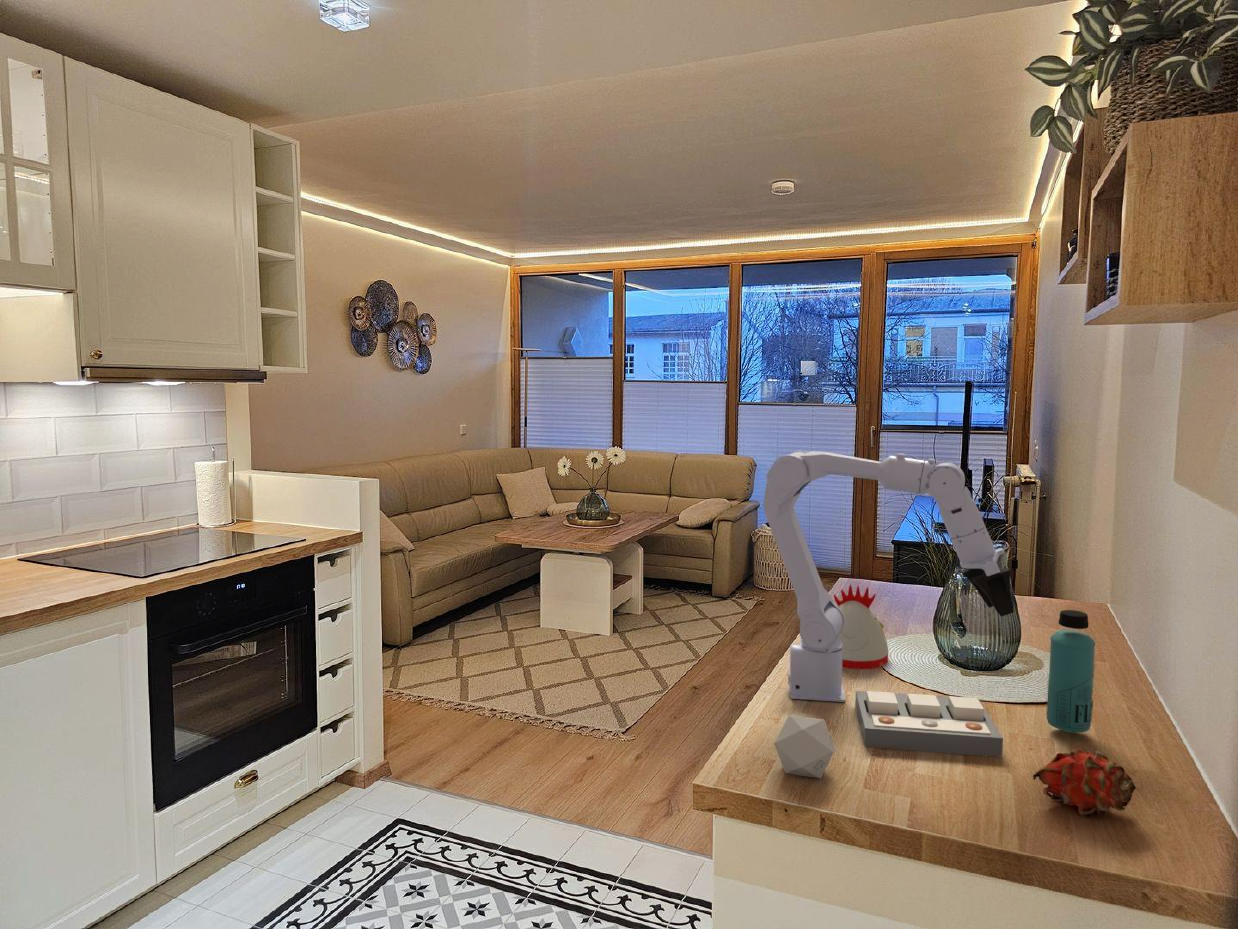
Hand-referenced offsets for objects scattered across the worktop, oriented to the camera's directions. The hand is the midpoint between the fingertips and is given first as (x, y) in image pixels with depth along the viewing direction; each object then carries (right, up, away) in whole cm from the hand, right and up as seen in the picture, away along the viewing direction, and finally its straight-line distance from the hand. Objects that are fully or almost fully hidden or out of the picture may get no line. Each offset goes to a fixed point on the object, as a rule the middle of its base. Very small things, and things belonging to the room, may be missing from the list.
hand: (1000, 609), depth 133 cm
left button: (-19, -16, +1) cm, 25 cm away
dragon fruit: (-1, -22, -25) cm, 33 cm away
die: (-35, -21, -14) cm, 44 cm away
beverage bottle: (+10, -20, -2) cm, 22 cm away
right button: (-7, -17, -2) cm, 18 cm away
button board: (-13, -19, -1) cm, 23 cm away
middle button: (-13, -17, 0) cm, 21 cm away
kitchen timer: (-15, -16, +33) cm, 40 cm away
